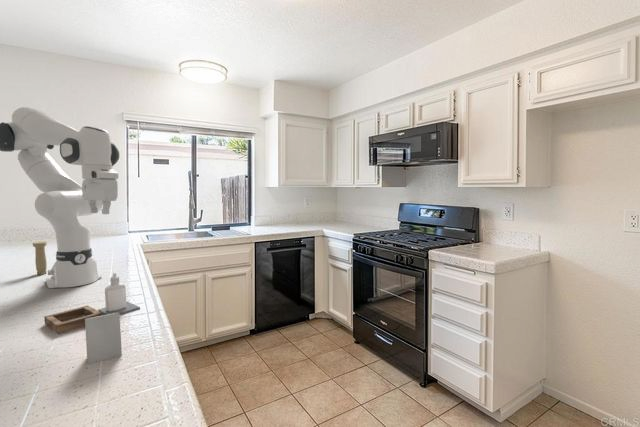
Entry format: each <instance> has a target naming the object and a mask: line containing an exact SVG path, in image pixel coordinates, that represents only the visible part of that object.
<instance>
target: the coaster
mask: <svg viewBox="0 0 640 427" xmlns="http://www.w3.org/2000/svg"><path fill="white" fill-rule="evenodd" d="M140 309H141V307H140V306H139V305H136V304H134V303H132V302H130V301H126V308H123V309H121V310H117V311H112V312H108V311H107V310H106V306H105V307H103V308H102V307H101V308H98V309H97V311H99V312H101V313H102V315H108V314H113V313H119V316H120V315H124V314H127V313H131V312H134V311H137V310H140Z"/></svg>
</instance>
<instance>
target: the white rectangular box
mask: <svg viewBox="0 0 640 427" xmlns="http://www.w3.org/2000/svg"><path fill="white" fill-rule="evenodd" d="M84 328H85V344H86V345H85V346H86V360H87V363H86V364H87V365H89V364H93V363H97V362H100V361H105V360H108V359H109V360H110V359H113V358H116V357H120V356H122V355H123V351H122V333H121V330H122V329H121V320H120V315H119V313H113V314H108V315H104V314H102V316H97V317H92V318H87V319H85V326H84Z"/></svg>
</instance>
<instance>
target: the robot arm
mask: <svg viewBox="0 0 640 427" xmlns="http://www.w3.org/2000/svg"><path fill="white" fill-rule="evenodd" d="M12 112H13V113H12V115H11V120H12V121H11V122H0V152H4V153H5V152H7V153H8V152H14V151H18V152H19V153H18V155H17V160H18V162H19V165H20V166H21V168H22V170H23V171H24V173H25V174H26V176H28V178H29V179H30V180H31V181H32V182H33V184H34V185H35V187H36V188H37V189H38V190H40V191H41V192H42V193H40V194H39V195H37V197H36V199H35V201H34V208H35V211H36V212H37V214H38V215H40V216H41V217H43V218H44V219H45V220H47V222H49V223H50V225H51V226H52V228H53V230H54V233H55V239H56V247H57V251H55V252H56V254H55V263H54V264H53V265H52V267H51V268H50V269H48V270H47V275H48V276H51V277H48V278H46V279H45V283H46V285H47V288H48V289H55V288H56V289H57V288H74V287H79V286H85V285H89V284H93V283H95V282H96V281H98V280H100V279H102V278H103V277H102V275H101V274H99V272H98V265H97V260H95V259H94V258H93V250H92V248H91V239H90V238H91V236H90V231H89V229H88V228H87V227H85V226H83V225H82V224H80V222H79V220H78V217H85V216H90V215H91V216H92V215H93V214H94V215H95V214H98V213H99V212H101V214H102V215H110V209H111V205H112V202H114V201H115V202H116V201H117V199H118V195H119V194H118V188H119V186H118V179H119V172H117V171H115V170H114V169H113V167H114V166H115V165H116V164H117V163H118V161H119V159H120V151H119V148H118V147H117V146H116V145H115V143H113V142H112V141H111V138H110V134H109V132H108V131H107V130H106V129H104V128H100V127H94V126H87V125H86V126H82V127H81V128H80V130H77V129H75V128H74V127H71V126H69V125H68V124H65V123H63V122H62V121H60V120H58V119H56V118H55V117H53V116H51V115H50V114H48V113H45V112H43V111H42V110H39V109H36V108H33V107H28V106H24V107H23V106H22V107H19V108H16V109H15V110H14V111H12ZM55 146H56V147H57V146H59V153H60V156H61V158H62V160H64V162H66V164H70V165H73V166H74V165H75V166H81V177H82V179H83V180H82V182H81V183H82V184H79V183H78V182H77V181H75V180H73V178H72V177H70V176H69V175H68V174H67V173H66V172H65V171H64V170H63V169H62V168H61V166H60V165H59V164H58V162H56V161H55V160H54V159H53V158H52V157H51V155H50V154H49V152H48V150H53V149H54V148H55Z"/></svg>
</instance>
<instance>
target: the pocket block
mask: <svg viewBox="0 0 640 427" xmlns="http://www.w3.org/2000/svg"><path fill="white" fill-rule="evenodd" d="M97 316H103V314H102V313H101V312H99V311H98V309H95V308H94V307H91V306H90V305H83V306H80V307H77V308H73V309H69V310H64V311H61V312H60V311H59V312H56V313H52V314H49V315H45V316H44V317H43V318H44V325H45V326H46V327H47V328H48V329H50V330H51V331H52V332H54V333H56V335H60V334H64V333H68V332H71V331H74V330H76V329H81V328H83V327H84V328H85V319H87V318H92V317H97Z"/></svg>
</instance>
